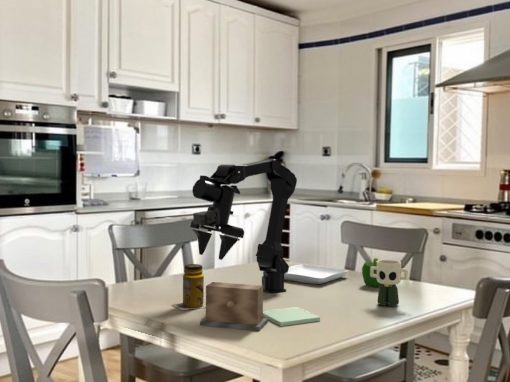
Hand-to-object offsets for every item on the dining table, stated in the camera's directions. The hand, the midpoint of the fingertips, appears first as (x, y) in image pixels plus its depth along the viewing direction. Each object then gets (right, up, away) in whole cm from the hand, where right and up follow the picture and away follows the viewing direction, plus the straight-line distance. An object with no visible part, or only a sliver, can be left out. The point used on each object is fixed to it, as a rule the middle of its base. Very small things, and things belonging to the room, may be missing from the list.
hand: (210, 257), depth 169 cm
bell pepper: (+54, -13, +28) cm, 62 cm away
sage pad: (+23, -15, -13) cm, 30 cm away
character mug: (+53, -15, +2) cm, 55 cm away
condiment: (-6, -14, -2) cm, 16 cm away
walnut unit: (+8, -15, -20) cm, 26 cm away
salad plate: (+34, -13, +40) cm, 54 cm away
